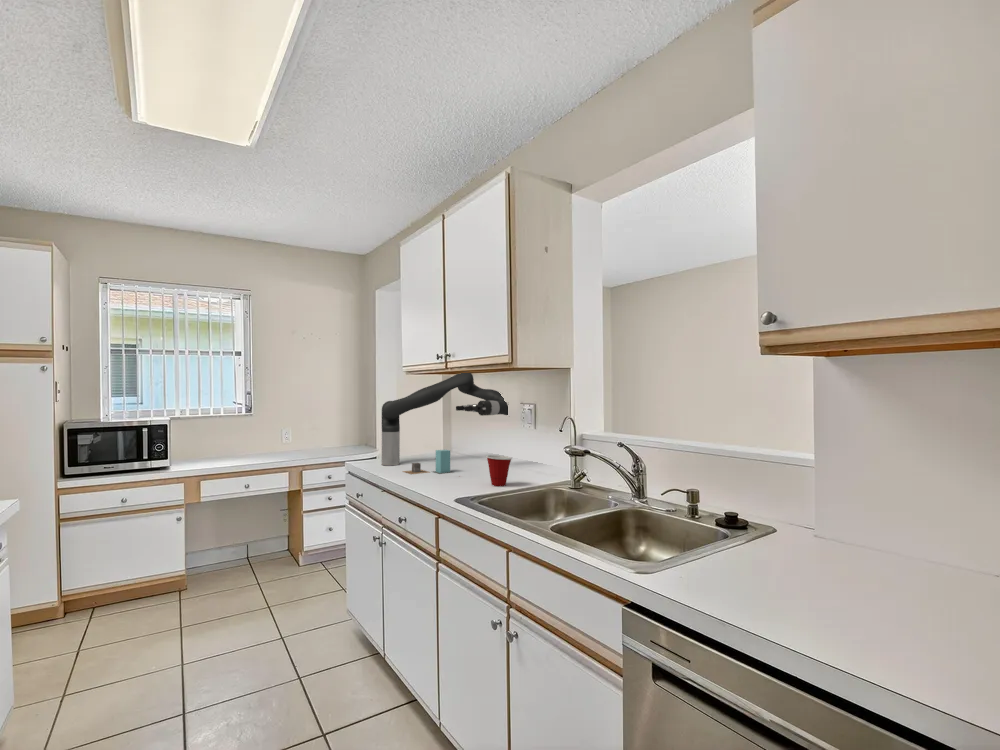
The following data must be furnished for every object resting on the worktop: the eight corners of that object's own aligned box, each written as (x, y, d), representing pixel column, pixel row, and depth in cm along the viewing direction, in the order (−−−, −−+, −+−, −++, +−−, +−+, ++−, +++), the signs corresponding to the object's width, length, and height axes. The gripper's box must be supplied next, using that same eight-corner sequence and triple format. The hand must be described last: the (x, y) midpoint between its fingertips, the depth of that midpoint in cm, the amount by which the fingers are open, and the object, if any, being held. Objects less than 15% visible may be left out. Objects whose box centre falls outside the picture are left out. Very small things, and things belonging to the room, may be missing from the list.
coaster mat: (431, 473, 242) (431, 471, 242) (446, 472, 247) (446, 470, 247) (439, 476, 236) (439, 473, 236) (454, 474, 240) (454, 472, 240)
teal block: (435, 471, 242) (435, 450, 242) (445, 470, 245) (445, 449, 245) (440, 473, 238) (440, 451, 238) (450, 472, 241) (450, 450, 241)
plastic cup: (516, 486, 210) (516, 457, 211) (490, 488, 207) (490, 458, 207) (507, 482, 221) (507, 453, 221) (482, 483, 217) (482, 454, 218)
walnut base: (401, 473, 243) (401, 462, 243) (421, 471, 249) (421, 461, 249) (410, 476, 235) (410, 465, 235) (430, 474, 241) (430, 463, 241)
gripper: (480, 400, 268) (453, 400, 259) (496, 400, 256) (468, 401, 247) (480, 414, 268) (453, 415, 258) (496, 415, 256) (468, 416, 247)
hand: (460, 408), depth 253 cm, fingers open, 8 cm apart
